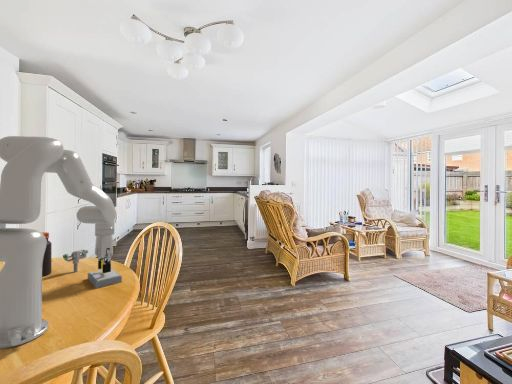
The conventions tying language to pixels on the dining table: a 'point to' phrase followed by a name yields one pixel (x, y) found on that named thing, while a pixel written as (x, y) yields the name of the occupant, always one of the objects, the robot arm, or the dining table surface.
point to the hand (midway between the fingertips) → (104, 270)
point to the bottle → (47, 257)
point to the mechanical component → (75, 258)
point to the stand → (104, 278)
